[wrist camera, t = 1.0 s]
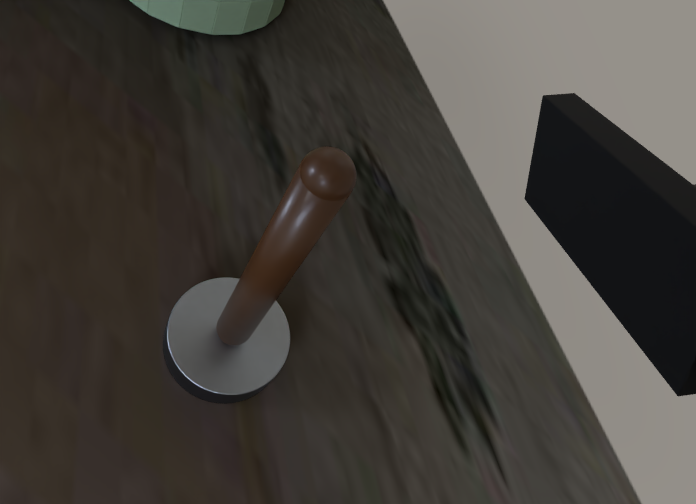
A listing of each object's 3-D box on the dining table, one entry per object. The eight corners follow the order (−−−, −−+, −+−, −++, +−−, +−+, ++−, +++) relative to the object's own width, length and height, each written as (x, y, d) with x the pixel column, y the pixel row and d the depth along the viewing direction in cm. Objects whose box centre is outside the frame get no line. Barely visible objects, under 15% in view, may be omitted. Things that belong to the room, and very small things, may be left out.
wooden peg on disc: (160, 405, 32) (233, 244, 16) (164, 287, 35) (229, 58, 19) (284, 402, 34) (448, 262, 19) (278, 293, 38) (414, 96, 22)
